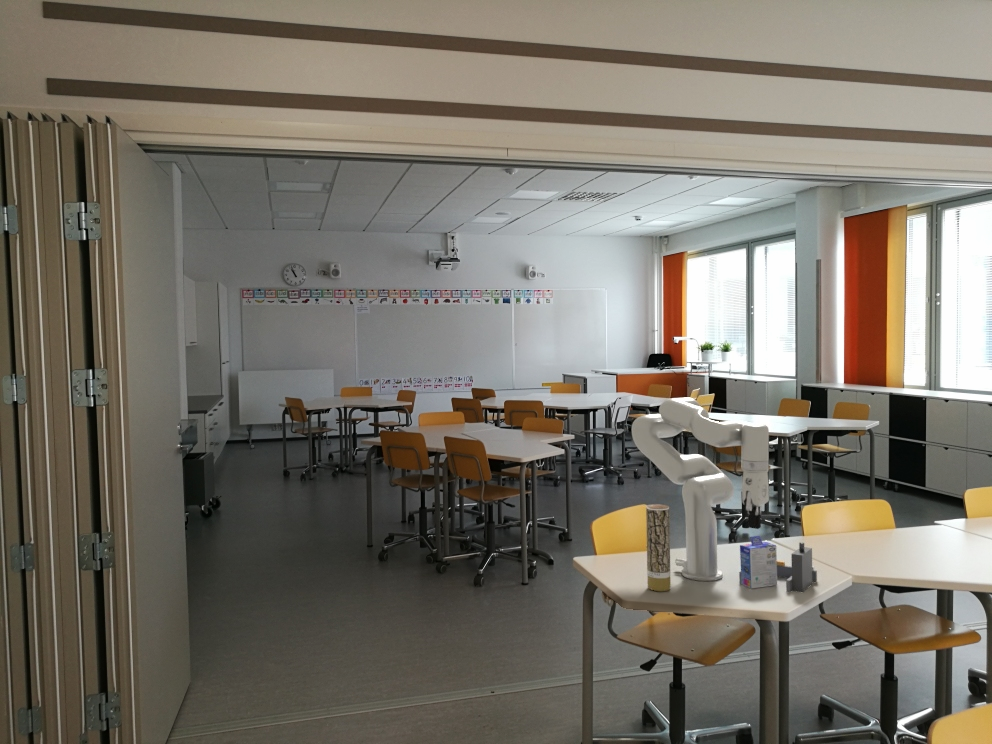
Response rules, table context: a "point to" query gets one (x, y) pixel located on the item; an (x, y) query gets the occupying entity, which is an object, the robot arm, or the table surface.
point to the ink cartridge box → (758, 564)
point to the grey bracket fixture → (797, 570)
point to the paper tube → (658, 547)
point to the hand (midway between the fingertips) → (754, 527)
